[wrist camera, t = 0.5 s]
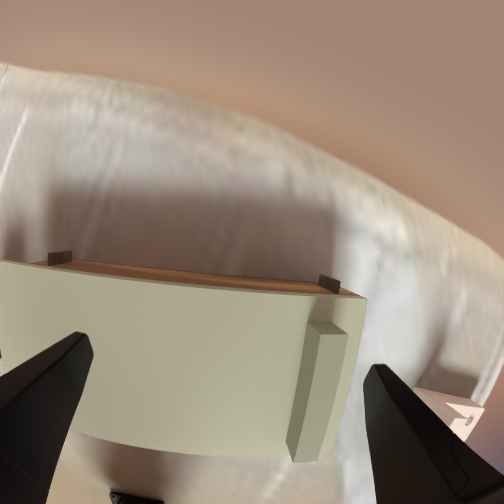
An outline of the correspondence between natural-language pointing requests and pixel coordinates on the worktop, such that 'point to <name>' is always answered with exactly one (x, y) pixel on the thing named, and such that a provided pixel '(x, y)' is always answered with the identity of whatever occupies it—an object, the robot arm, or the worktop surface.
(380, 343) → the worktop surface
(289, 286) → the brown box
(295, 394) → the lid
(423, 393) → the bracket
